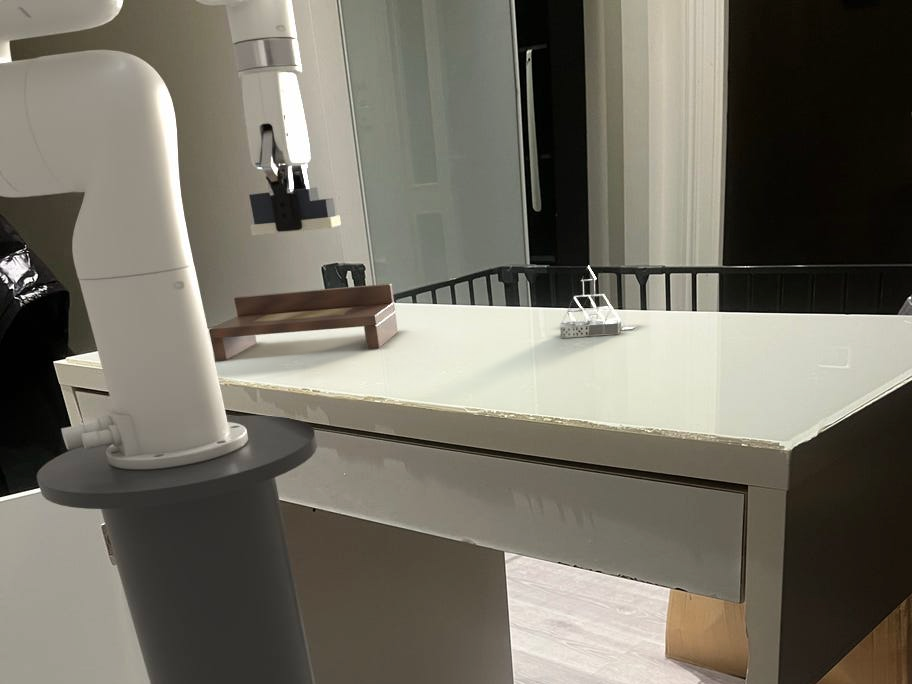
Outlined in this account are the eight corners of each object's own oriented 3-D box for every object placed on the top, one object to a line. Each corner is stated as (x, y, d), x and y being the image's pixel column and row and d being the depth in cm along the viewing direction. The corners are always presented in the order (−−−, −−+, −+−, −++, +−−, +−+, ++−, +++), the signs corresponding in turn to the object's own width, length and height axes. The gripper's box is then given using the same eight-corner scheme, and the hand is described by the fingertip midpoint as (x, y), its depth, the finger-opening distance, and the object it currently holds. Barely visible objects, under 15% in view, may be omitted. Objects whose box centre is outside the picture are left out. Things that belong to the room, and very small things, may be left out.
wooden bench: (215, 360, 124) (204, 309, 121) (246, 344, 135) (236, 296, 132) (379, 348, 121) (372, 295, 118) (397, 332, 132) (391, 283, 129)
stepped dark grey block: (251, 235, 119) (244, 195, 117) (263, 232, 123) (256, 193, 121) (331, 227, 118) (325, 186, 116) (341, 225, 122) (335, 185, 120)
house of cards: (636, 321, 121) (635, 256, 117) (634, 333, 113) (632, 264, 110) (565, 326, 123) (562, 262, 119) (558, 338, 115) (554, 271, 112)
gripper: (261, 70, 120) (288, 226, 129) (211, 59, 105) (245, 237, 114) (318, 63, 119) (341, 221, 127) (276, 51, 104) (305, 231, 112)
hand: (295, 227), depth 120 cm, fingers closed on stepped dark grey block, 4 cm apart
